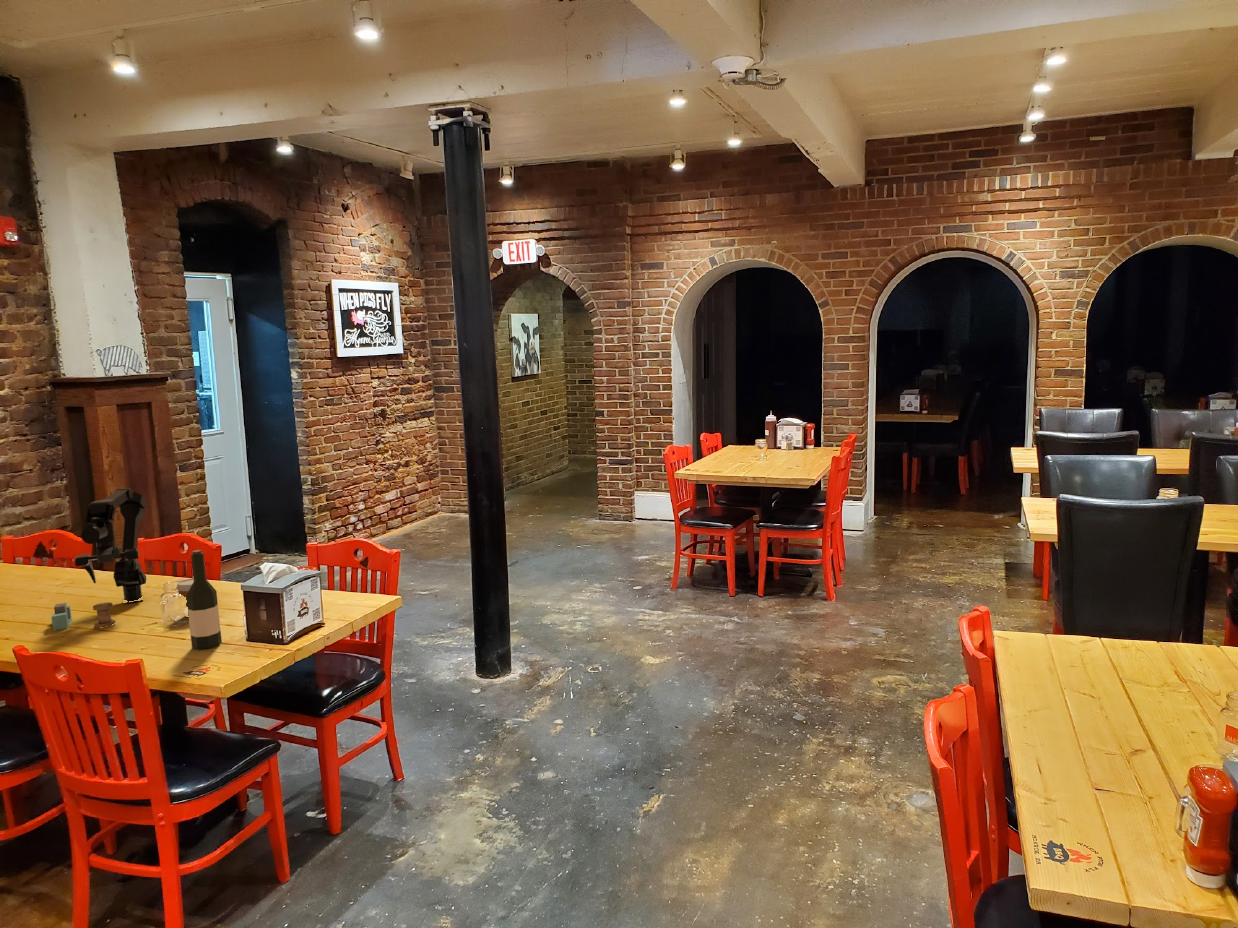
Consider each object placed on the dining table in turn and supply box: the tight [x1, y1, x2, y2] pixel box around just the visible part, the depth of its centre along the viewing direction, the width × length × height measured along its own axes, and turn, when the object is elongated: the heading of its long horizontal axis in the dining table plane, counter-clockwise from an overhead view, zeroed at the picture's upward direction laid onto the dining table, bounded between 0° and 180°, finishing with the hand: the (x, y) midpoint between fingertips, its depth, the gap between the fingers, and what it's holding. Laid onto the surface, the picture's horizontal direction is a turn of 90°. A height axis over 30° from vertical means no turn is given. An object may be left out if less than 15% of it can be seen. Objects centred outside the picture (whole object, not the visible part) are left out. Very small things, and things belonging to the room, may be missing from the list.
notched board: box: [51, 604, 73, 632], centre depth 281 cm, size 12×4×5 cm, turn 27°
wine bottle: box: [186, 549, 223, 651], centre depth 255 cm, size 8×8×30 cm
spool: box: [92, 602, 116, 629], centre depth 279 cm, size 6×6×7 cm
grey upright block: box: [53, 602, 69, 620], centre depth 281 cm, size 4×3×6 cm
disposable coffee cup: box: [175, 577, 194, 606], centre depth 287 cm, size 10×10×12 cm
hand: (110, 580), depth 289 cm, fingers open, 9 cm apart
